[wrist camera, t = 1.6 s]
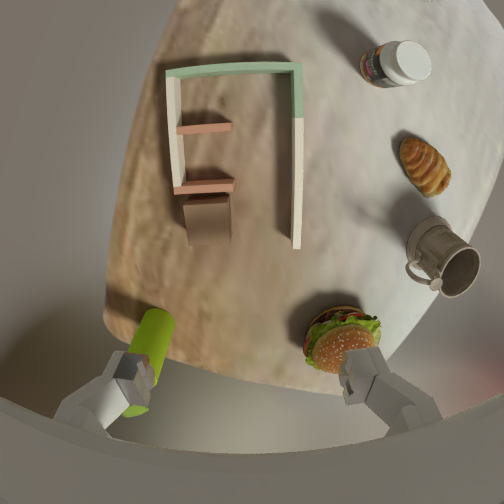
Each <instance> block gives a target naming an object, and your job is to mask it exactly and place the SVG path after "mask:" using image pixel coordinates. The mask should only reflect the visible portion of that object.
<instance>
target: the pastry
mask: <svg viewBox="0 0 504 504" xmlns="http://www.w3.org/2000/svg"><path fill="white" fill-rule="evenodd" d="M399 154H400V159H401V161H402V163H403V165H404V169H405V170H406V173H407V175H408V176H409V178H410V180H411V182H412V183H413V184H415V185H416V186H417V188H418V189H419V190H420V191H421V192H422V194H423V196H424V197H427V198H428V197H433V196H435V195H439V194H441V193H442V192H443V191H444V190H445V189H446V187H447V186H448V185H449V181H450V179H451V171H450V169H449V168H448V166H447V164H446V162H445V159H444V157H443V156H442V155H441V154H440V153H439V152H438V151H437V150H436V149H435V148H433V147H432V146H431V145H429V144H427V143H425V142H423V141H421V140H419V139H418V138H405V139H404V140H403V141H402V143H401V145H400V150H399Z"/></svg>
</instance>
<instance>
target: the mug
mask: <svg viewBox="0 0 504 504" xmlns="http://www.w3.org/2000/svg"><path fill="white" fill-rule="evenodd" d="M406 249H407V258H408V260H409V262H408V263H407V264H406V272H407V274H408V275H409V276H410V277H411V278H412V279H413V280H414V281H416V282H418V283H421V284H425V285H430V289H431V290H432V291H436V290H439V291H440V292H441V294H442V295H443V296H445V297H447V298H455V297H457V296H459V295H461V294H463V293H464V292H465V291H467V290H468V289H469V287H470V286H471V285H472V284H473V283H474V281H475V279H476V278H477V276H478V273H479V270H480V265H481V257H480V254H479V252H478V250H477V249H476V248H474V247H473V246H471V245H469V244H467V243H466V242H465V241H464V240H462V239H461V238H460V237H459V236H457V235H456V234H455V233H453V232H452V230H451V226H450V225H449V223H448V222H447V221H446V220H445V219H443V218H441V217H435V216H433V217H430V218H426V219H425V220H423V221H422V222H420V223H419V224H418V225H417V226H416V228H415V229H414V230H413V231H412V233H411V235H410V237H409V239H408V244H407V248H406ZM411 265H412V266H413V267H414V268H416V269H419V270H424V272H425V273H426V274H427V275H428V276H429V277H430V278H431V280H428V279H423V278H420V277H418V276H416V275H415V274H414V273H412V272H411V270H410V269H409V266H411Z"/></svg>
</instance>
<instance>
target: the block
mask: <svg viewBox="0 0 504 504" xmlns="http://www.w3.org/2000/svg"><path fill="white" fill-rule="evenodd" d="M183 210H184V217H185V224H186V231H187V238H188V244H189V246H191V245H215V244H230V242H231V237H232V222H231V209H230V195H214V196H198V197H189V199H188V200H187V201H186V202H185V204H184V205H183Z"/></svg>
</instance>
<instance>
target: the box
mask: <svg viewBox="0 0 504 504" xmlns="http://www.w3.org/2000/svg"><path fill="white" fill-rule="evenodd" d="M256 73H282V74H291V106H292V194H291V236H290V240H291V244H292V248H293V249H300V244H301V223H302V195H303V73H302V63H297V62H238V63H222V64H210V65H200V66H192V67H184V68H177V69H171V70H166V97H167V116H168V132H169V145H170V157H171V168H172V178H173V187H174V195H176V194H192V193H211V192H233V191H234V187H235V179H212V180H195V181H186V170H185V158H184V145H183V135H184V134H194V133H206V132H221V131H231V130H233V128H232V122H231V123H214V124H201V125H190V126H182V113H181V92H180V79H187V78H196V77H205V76H216V75H230V74H256Z"/></svg>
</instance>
